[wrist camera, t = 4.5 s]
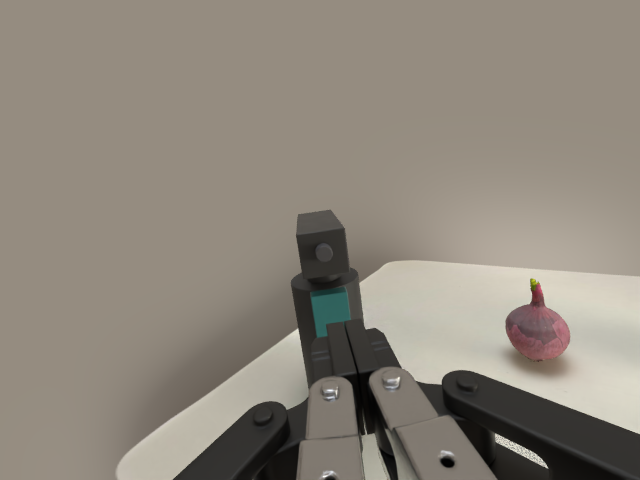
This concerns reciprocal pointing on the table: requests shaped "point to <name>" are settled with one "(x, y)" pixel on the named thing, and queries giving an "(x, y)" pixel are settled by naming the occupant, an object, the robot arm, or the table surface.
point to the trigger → (329, 308)
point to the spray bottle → (321, 273)
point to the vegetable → (537, 328)
